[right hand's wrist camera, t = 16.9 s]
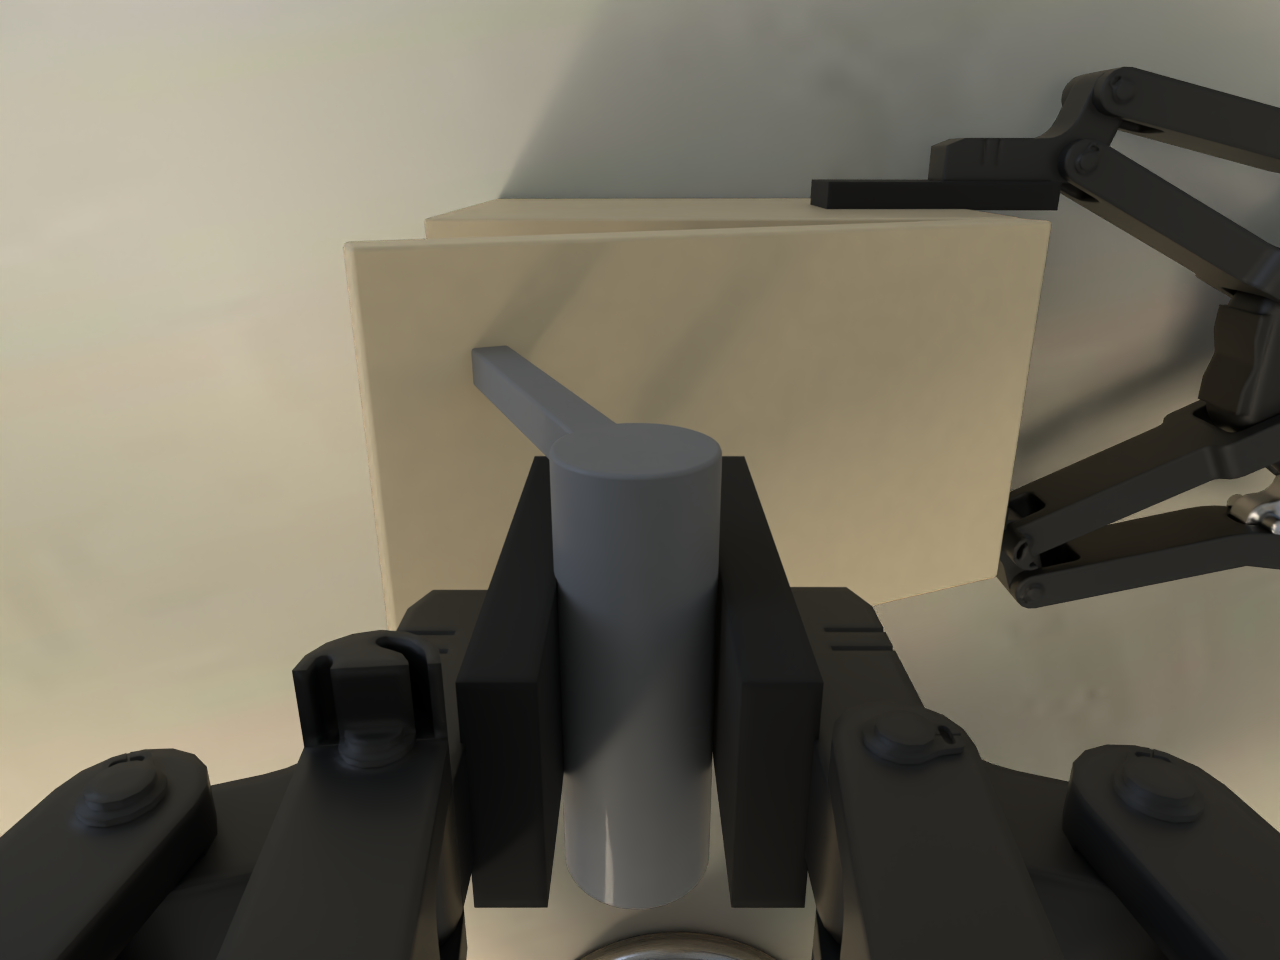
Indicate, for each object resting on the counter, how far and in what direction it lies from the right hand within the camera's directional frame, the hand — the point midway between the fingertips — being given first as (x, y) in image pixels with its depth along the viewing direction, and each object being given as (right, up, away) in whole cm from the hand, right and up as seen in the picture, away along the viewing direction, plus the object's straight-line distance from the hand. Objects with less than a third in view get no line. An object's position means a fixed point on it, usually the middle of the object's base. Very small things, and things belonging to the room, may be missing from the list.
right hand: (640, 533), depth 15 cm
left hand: (+5, +5, +13) cm, 15 cm away
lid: (+2, +2, +5) cm, 6 cm away
